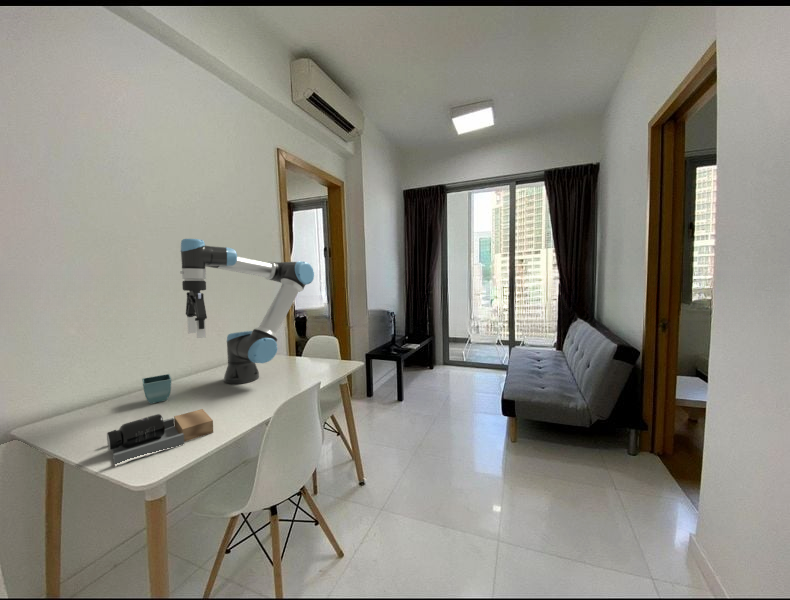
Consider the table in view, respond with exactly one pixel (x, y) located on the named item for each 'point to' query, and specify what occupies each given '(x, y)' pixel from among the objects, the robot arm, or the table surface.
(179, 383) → the table surface
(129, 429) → the supplement bottle
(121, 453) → the grey tray
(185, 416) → the walnut ledge
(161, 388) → the flower pot
